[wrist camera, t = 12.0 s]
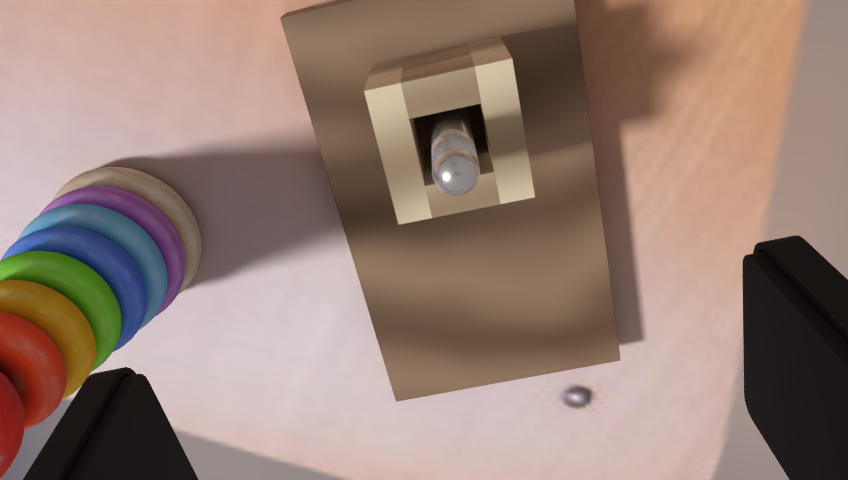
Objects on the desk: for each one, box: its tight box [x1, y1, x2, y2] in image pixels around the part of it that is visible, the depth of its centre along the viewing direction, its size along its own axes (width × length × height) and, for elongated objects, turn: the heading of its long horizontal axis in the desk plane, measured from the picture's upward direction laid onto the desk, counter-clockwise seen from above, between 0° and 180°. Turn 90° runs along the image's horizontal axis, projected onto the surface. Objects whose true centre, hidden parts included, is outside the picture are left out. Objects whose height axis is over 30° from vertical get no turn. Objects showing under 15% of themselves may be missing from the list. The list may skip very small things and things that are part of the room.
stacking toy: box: [0, 167, 202, 478], centre depth 30 cm, size 8×8×19 cm
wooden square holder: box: [364, 37, 535, 225], centre depth 32 cm, size 6×6×5 cm
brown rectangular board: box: [280, 0, 620, 401], centre depth 37 cm, size 22×13×2 cm, turn 13°
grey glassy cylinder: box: [430, 107, 480, 196], centre depth 30 cm, size 2×2×9 cm
